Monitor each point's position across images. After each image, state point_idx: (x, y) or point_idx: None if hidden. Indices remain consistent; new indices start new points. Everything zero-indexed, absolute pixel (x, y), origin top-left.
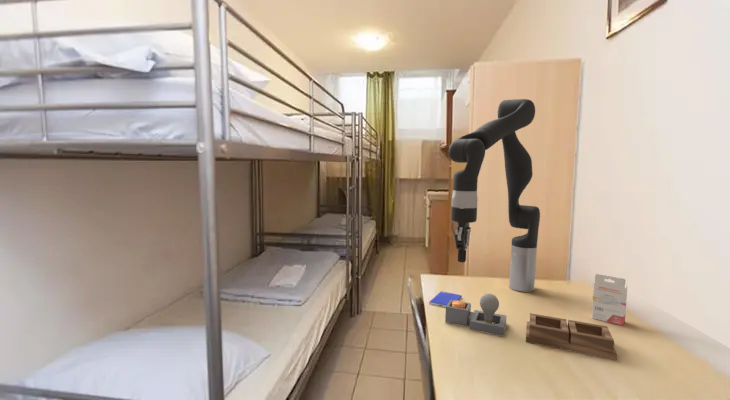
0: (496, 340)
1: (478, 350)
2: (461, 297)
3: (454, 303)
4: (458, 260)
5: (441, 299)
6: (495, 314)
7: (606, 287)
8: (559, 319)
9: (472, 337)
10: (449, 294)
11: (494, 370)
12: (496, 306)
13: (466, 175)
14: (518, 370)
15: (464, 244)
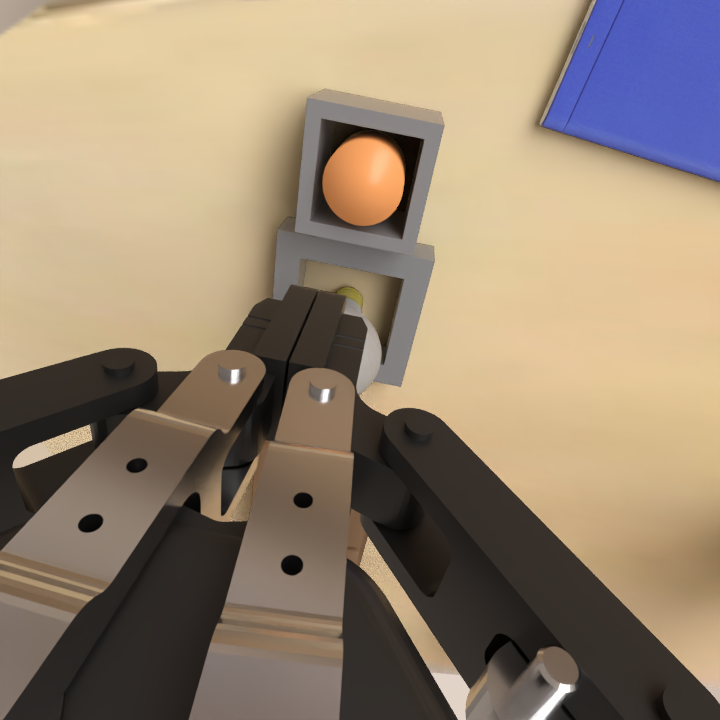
0: (229, 313)
1: (114, 242)
2: None
3: (344, 158)
4: (289, 291)
5: (670, 40)
6: (400, 347)
7: None
8: (350, 533)
9: (212, 225)
10: None
11: (14, 281)
12: None
13: None
14: (61, 346)
15: (35, 499)
